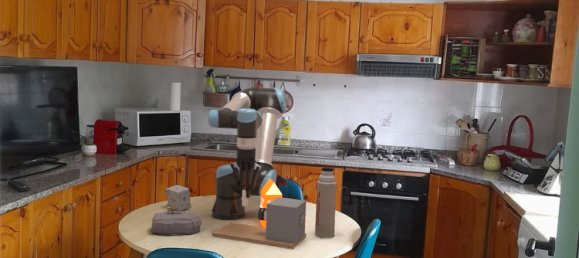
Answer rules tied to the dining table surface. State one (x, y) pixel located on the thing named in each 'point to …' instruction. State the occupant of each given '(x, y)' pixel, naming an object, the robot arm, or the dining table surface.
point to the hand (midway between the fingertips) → (245, 205)
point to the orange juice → (268, 196)
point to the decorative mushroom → (280, 181)
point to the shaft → (263, 215)
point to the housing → (272, 226)
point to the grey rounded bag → (176, 222)
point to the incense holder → (178, 197)
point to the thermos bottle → (325, 204)
